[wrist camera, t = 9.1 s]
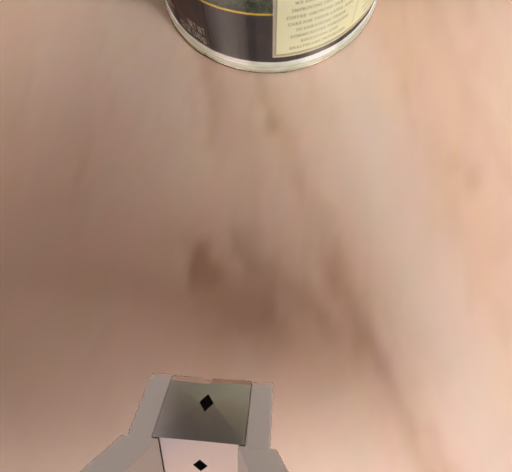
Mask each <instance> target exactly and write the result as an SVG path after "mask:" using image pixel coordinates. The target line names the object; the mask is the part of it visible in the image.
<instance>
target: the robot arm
mask: <svg viewBox="0 0 512 472" xmlns="http://www.w3.org/2000/svg"><path fill="white" fill-rule="evenodd" d="M272 400H273V383H260V382H252V381H241V380H226V379H204V378H195V377H186V376H177V375H167V374H156V373H153V375H152V376H151V377H150V379H149V381H148V384H147V386H146V389H145V391H144V394H143V396H142V399H141V402H140V404H139V407H138V409H137V412H136V415H135V417H134V420H133V422H132V425H131V428H130V430H129V433H128V435H121V436H120V437H119V438H117V439H116V440H115V441H114V442H113V443H112V444H111V445H110V446H108V447H107V448H106V449H105V450H104V451H103V452H102V453H100V454H99V455H98V456H97V457H96V458H95V459H94V460H93V461H91V462H90V463H89V464H88V465H87V466H86V467H85V468H83V469H82V470H81V471H80V472H289V471H288V470H287V468H286V466H285V464H284V462H283V461H282V459H281V457H280V455H279V453H278V452H277V450H275V449H270V442H271V421H272Z"/></svg>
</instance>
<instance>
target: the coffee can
mask: <svg viewBox="0 0 512 472" xmlns="http://www.w3.org/2000/svg"><path fill="white" fill-rule="evenodd" d="M165 3H166V7H167V10H168V13H169V15H170V17H171V19H172V21H173V23H174V25H175V26H176V28H177V29H178V31H179V32H180V34H181V35H182V36H183V37H184V38H185V40H186V41H187V42H188V43H189V44H190V45H192V47H194V48H195V49H196V50H198V51H199V52H200V53H202V54H204V55H205V56H207V57H209V58H211V59H212V60H214V61H216V62H218V63H221V64H223V65H226V66H229V67H232V68H236V69H240V70H244V71H250V72H260V73H279V72H288V71H292V70H297V69H302V68H305V67H308V66H311V65H314V64H317V63H319V62H321V61H323V60H325V59H327V58H329V57H331V56H333V55H334V54H336V53H337V52H339V51H340V50H342V49H343V48H345V47H346V46H347V45H348V44H350V43H351V42H352V41H353V40H354V39H355V38H356V37H357V36H358V35H359V34H360V32H361V31H362V29H363V28H364V26H365V25H366V24H367V22H368V21H369V19H370V17H371V15H372V13H373V10H374V8H375V6H376V3H377V0H165Z"/></svg>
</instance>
